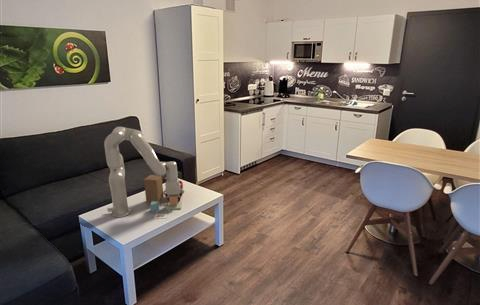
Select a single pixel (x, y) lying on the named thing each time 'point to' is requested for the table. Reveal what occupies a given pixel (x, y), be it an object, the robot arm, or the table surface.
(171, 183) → the robot arm
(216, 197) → the table surface
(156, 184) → the wooden block
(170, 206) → the build plate
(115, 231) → the table surface
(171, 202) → the brick terracotta
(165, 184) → the plant pot
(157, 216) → the page
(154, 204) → the brick teal
